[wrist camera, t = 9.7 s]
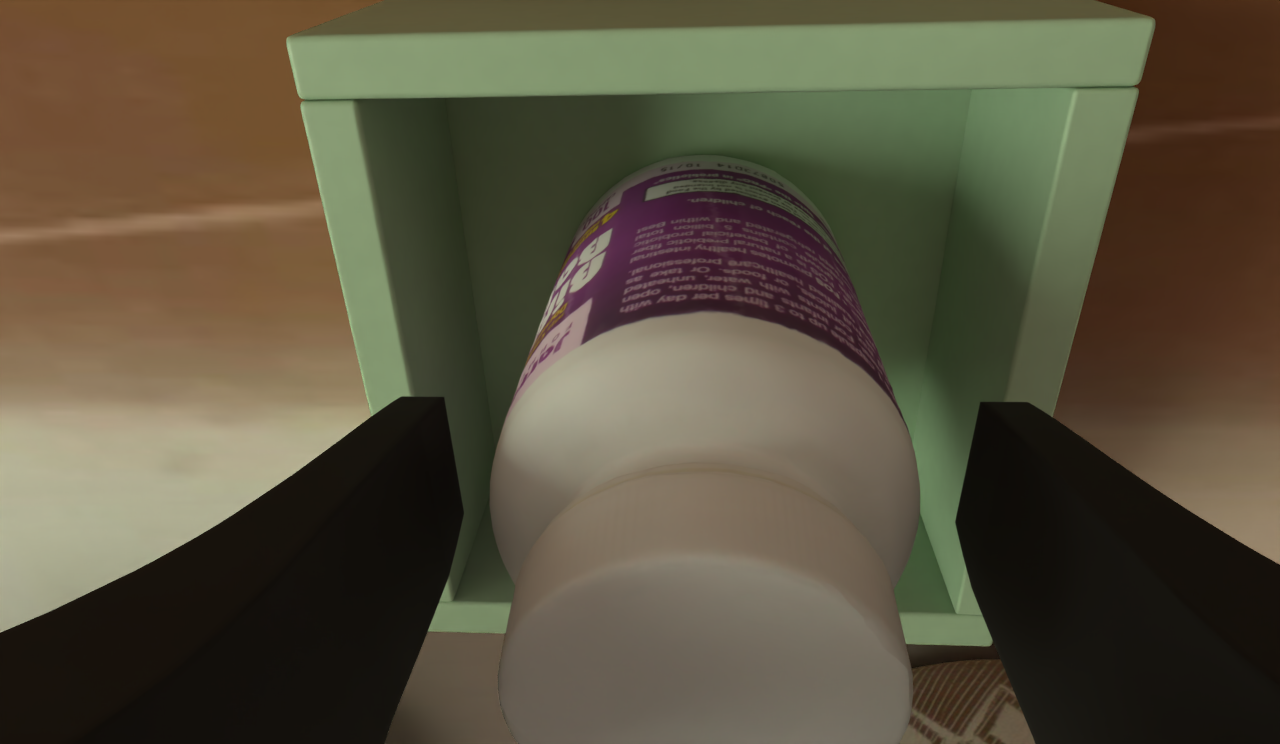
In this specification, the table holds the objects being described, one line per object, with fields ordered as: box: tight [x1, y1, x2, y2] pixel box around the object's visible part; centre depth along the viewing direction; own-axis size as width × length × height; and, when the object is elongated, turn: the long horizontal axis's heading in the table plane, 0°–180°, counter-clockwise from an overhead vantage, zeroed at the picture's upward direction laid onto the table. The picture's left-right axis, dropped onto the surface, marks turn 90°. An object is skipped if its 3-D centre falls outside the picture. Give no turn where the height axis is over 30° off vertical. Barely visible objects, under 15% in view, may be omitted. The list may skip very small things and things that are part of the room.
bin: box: [287, 0, 1155, 646], centre depth 15 cm, size 11×11×5 cm
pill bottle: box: [489, 155, 920, 744], centre depth 12 cm, size 5×5×10 cm
